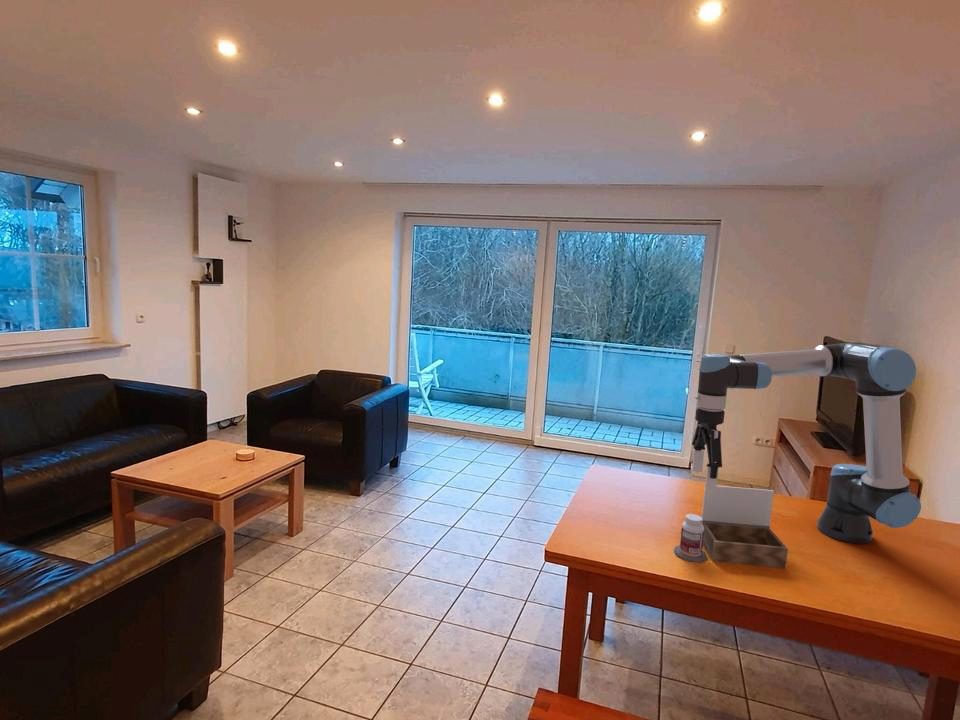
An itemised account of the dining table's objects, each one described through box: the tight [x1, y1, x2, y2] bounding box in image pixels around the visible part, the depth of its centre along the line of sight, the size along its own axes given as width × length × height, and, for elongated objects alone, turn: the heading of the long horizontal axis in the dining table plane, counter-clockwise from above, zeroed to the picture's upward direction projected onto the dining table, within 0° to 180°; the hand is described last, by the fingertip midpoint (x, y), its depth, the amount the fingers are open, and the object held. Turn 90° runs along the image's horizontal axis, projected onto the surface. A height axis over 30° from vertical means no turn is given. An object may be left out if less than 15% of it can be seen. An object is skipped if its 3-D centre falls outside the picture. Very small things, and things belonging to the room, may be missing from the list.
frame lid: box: [701, 484, 775, 529], centre depth 165 cm, size 20×1×12 cm, turn 83°
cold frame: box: [702, 523, 789, 569], centre depth 161 cm, size 20×17×12 cm
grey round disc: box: [673, 544, 707, 563], centre depth 158 cm, size 9×9×1 cm
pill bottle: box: [679, 513, 704, 557], centre depth 158 cm, size 6×6×11 cm
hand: (703, 479), depth 155 cm, fingers open, 13 cm apart
